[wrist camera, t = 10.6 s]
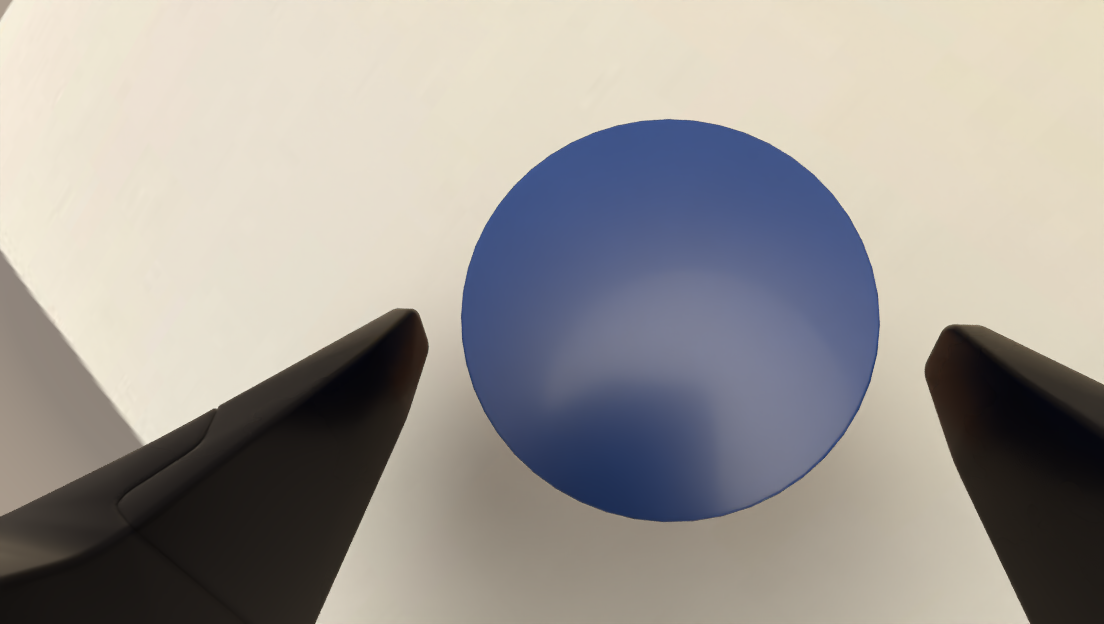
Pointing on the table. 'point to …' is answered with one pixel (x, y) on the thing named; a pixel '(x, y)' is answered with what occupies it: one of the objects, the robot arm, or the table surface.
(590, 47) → the table surface
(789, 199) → the lid
